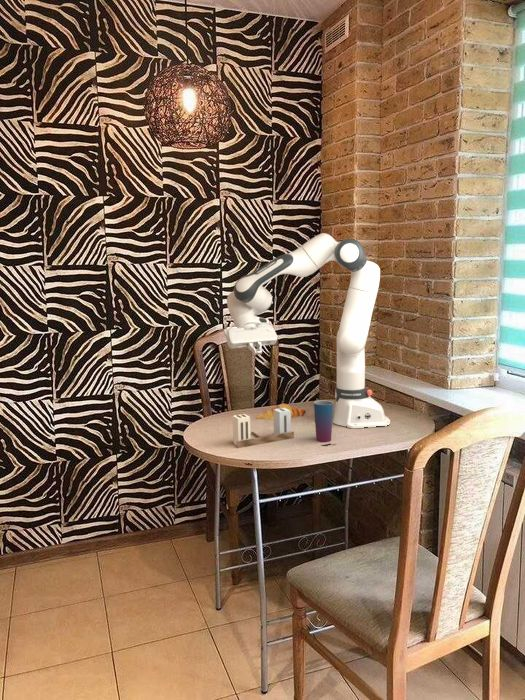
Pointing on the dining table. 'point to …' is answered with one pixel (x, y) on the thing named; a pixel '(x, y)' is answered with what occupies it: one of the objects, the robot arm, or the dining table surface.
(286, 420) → the key one
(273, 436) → the rail board
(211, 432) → the dining table surface
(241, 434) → the key two
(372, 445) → the dining table surface
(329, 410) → the cup
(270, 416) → the croissant
